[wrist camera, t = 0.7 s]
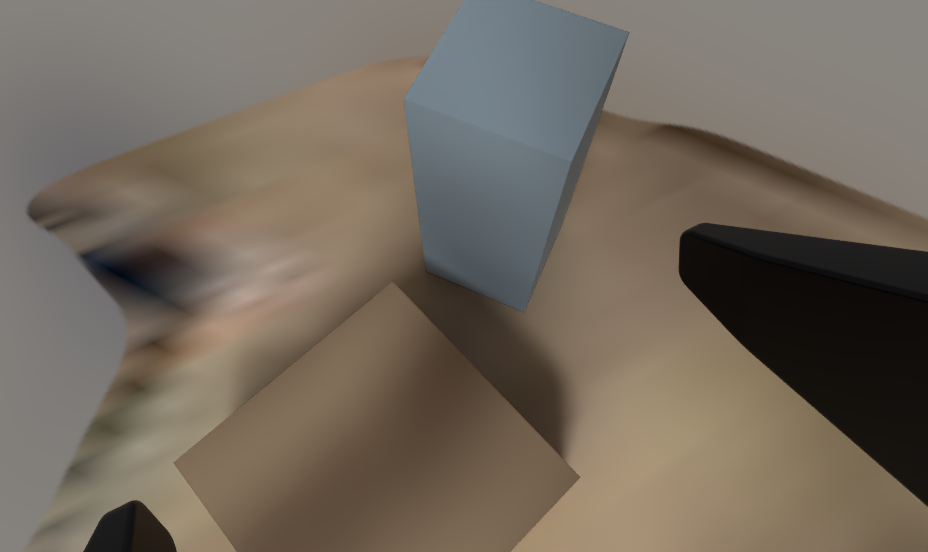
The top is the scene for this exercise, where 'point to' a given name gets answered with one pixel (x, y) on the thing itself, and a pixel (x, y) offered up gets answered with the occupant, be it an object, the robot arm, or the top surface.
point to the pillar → (504, 138)
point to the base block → (377, 449)
